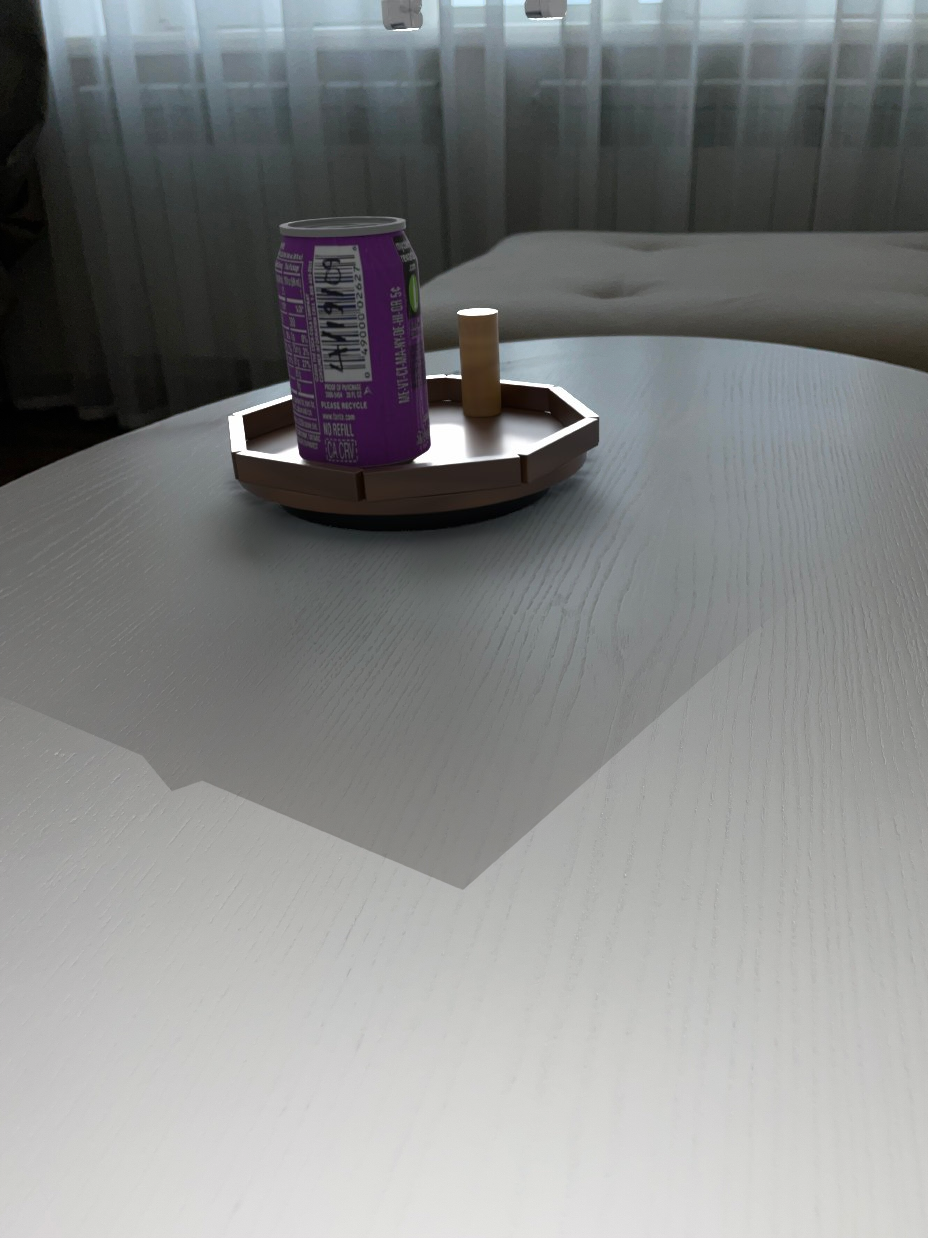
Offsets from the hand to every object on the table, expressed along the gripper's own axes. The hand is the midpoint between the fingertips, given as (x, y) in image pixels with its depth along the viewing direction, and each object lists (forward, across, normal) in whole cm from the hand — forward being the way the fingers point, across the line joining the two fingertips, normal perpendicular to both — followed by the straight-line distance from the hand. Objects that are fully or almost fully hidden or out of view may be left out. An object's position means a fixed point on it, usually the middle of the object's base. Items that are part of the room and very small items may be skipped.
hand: (471, 24), depth 58 cm
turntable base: (+23, 0, +8) cm, 24 cm away
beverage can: (+21, 0, +12) cm, 24 cm away
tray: (+21, 0, +8) cm, 23 cm away
